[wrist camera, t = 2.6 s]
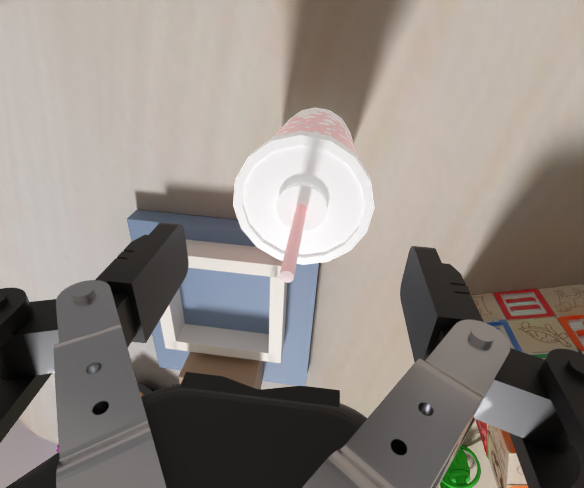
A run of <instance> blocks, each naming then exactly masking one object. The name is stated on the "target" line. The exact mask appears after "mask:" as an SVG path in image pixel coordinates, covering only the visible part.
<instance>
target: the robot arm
mask: <svg viewBox="0 0 584 488" xmlns="http://www.w3.org/2000/svg"><path fill="white" fill-rule="evenodd" d="M188 264H189V262H188V253H187V245H186V238H185V230H184V227H183V225H181V224H172V223H159V224H158V225H157V226H156V227H155V228H154V230H153V231H152V232H151V233H150V234H149V235H143V236H141V237H139V238H137V239H136V240H134V241H132V242H131V243H130V244H129V245H128V246H127V247H126V248H125V249H124V252H121V254H120V255H119V256H118V257H117V259H115V260H114V261H113V262H112V263H111V264H110V265H109V266H108V267H107V268H106V269H105V270H104V271H103V272H102V273H101V274H100V276H99V277H98V278H97V279H96V280H89V281H83V282H79V283H76V284H74V285H72V286H70V287H68V288H66V289H65V290H63V291H62V292H61V293H60V294H59V295H58V297H57V299H54V300H44V301H35V302H29V300H28V298H27V296H26V293H25V292H24V291H23V290H21V289H18V288H3V289H0V442H1V441H2V440H3V438H4V437H5V436H6V434H7V433H8V432H9V430H10V429H11V428H12V426H13V425H14V424H15V422H16V421H17V420H18V418H19V417H20V416H21V414H22V413H23V412H24V410H25V409H26V408H27V406H28V405H29V404H30V402H31V401H32V400H33V398H34V397H35V396H36V394H37V393H38V391H39V390H40V389H41V387H42V386H43V385H44V383H45V382H46V381H47V379H48V378H49V377H50V375H51V374H52V373H55V387H56V404H57V420H58V437H59V452H58V453H57V454H55V455H54V456H52V457H51V458H50V459H48V460H46V461H45V462H43V463H42V464H40V465H39V466H37V467H36V468H34V469H33V470H31V471H30V472H28V473H27V474H25V475H24V476H23V477H21V478H20V479H18V480H17V481H15V482H14V483H12V484H11V485H9V486H8V487H6V488H438V486H439V485H440V483H441V481H442V479H443V477H444V475H445V473H446V471H447V469H448V468H449V466H450V464H451V462H452V460H453V459H454V457H455V455H456V453H457V451H458V450H459V448H460V446H461V444H462V443H463V441H464V439H465V437H466V435H467V434H468V432H469V430H470V428H471V427H472V425H473V423H474V421H475V419H477V420H479V421H482V422H484V423H487V424H489V425H492V426H494V427H496V428H499V429H501V430H504V431H506V432H509V434H510V437H511V440H512V443H513V446H514V448H515V451H516V454H517V457H518V460H519V463H520V465H521V468H522V471H523V474H524V477H525V480H526V482H527V485H528V488H584V354H582V353H579V352H577V351H573V350H569V349H554V350H552V351H550V352H549V353H548V355H547V356H546V358H545V359H542V358H539V357H536V356H532V355H529V354H526V353H523V352H520V351H518V350H515V349H513V348H511V347H510V343H509V341H508V340H507V338H506V337H505V336H504V335H503V334H502V333H501V332H500V331H499V330H498V329H496V328H495V327H493V326H491V325H489V324H487V323H484V321H483V319H482V317H481V315H480V313H479V311H478V309H477V306H476V304H475V302H474V300H473V298H472V296H471V295H470V292H469V290H468V288H467V286H465V285H466V284H465V282H464V280H463V278H462V276H461V274H460V273H459V272H458V271H457V270H456V269H455V268H454V267H452V266H451V265H450V264H444V263H441V260H440V258H439V256H438V253H437V251H436V249H435V248H427V247H416V246H412V247H411V248H410V251H409V254H408V259H407V263H406V267H405V271H404V275H403V279H402V283H401V290H400V297H401V303H402V308H403V312H404V317H405V321H406V326H407V330H408V335H409V339H410V344H411V348H412V352H413V357H414V361H415V363H414V364H413V366H412V367H411V368H410V369H409V370H408V372H407V373H406V374H405V375H404V376H403V377H402V379H401V380H400V381H399V382H398V383H397V384H396V386H395V387H394V388H393V389H392V390H391V392H390V393H389V394H388V395H387V396H386V397H385V399H384V400H383V401H382V402H381V403H380V405H379V406H378V407H377V408H376V409H375V410H374V412H373V413H372V414H371V415H370V416H369V417H368V419H367V418H366V417H365V416H363V415H362V414H360V413H359V412H357V411H356V410H354V409H352V408H350V407H348V406H346V405H343V404H341V403H340V390H332V389H324V388H315V387H307V386H294V387H284V388H274V389H265V390H260V389H256V388H253V387H250V386H248V385H245V384H242V383H240V382H237V381H234V380H232V379H229V378H226V377H224V376H217V375H209V374H201V373H192V372H186V373H185V376H184V378H183V380H182V382H181V384H176V385H172V386H167V387H164V388H161V389H157V390H155V391H153V392H150V393H148V394H146V395H144V396H142V397H141V395H140V391H139V388H138V384H137V380H136V377H135V373H134V370H133V366H132V363H131V359H130V355H129V352H128V346H129V345H130V343H131V342H141V343H146V342H147V340H148V339H149V337H150V335H151V334H152V332H153V330H154V329H155V327H156V325H157V324H158V322H159V320H160V319H161V317H162V316H163V314H164V312H165V311H166V309H167V307H168V306H169V304H170V302H171V301H172V299H173V297H174V296H175V294H176V292H177V291H178V289H179V287H180V286H181V284H182V283H183V281H184V279H185V277H186V275H187V272H188Z"/></svg>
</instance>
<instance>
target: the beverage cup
mask: <svg viewBox="0 0 584 488" xmlns="http://www.w3.org/2000/svg"><path fill="white" fill-rule="evenodd" d="M233 207H234V210H235V213H236V216H237V219H238V222H239V225H240V227H241V229H242V230H243V232H244V233H245V234H246V235H247V236H248V237H249V239H250V240H251V241H252V242H253V243H254V244H255V246H256V247H257V248H259V249H261V250H262V251H264V252H266V253H268V254H269V255H271V256H273V257H274V258H276V259H278V260H281V261H283V262H282V266H281V270H280V274H279V278H280V280H281V281H283V282H286V283H289V282H292V281H293V279H294V275H295V269H296V264H301V265H307V264H315V263H323V262H329V261H331V260H333V259H335V258H337V257H339V256H341V255H343V254H345V253H347V252H349V251H351V249H352V248H353V247H354V246H355V245H356V244H357V243H358V242H359V240H360V239H361V238H362V237H363V236H364V235H365V234H366V232H367V230H368V227H369V224H370V221H371V217H372V214H373V211H374V201H373V193H372V186H371V179H370V178H369V174H368V172H367V171H366V169H365V168H364V166H363V164H362V163H361V161H360V160H359V158H358V157H357V153H356V150H355V147H354V143H353V140H352V137H351V133H350V130H349V129H348V127H347V126H346V124H345V122H344V121H343V119H342V118H341V117H339V116H338V115H336V114H335V113H333V112H332V111H330V110H326V109H321V108H316V107H315V108H310V109H306V110H301V111H300V112H298V113H297V114H296V115H294V116H293V117H291V118H290V119H289V120H288V121H287V122H286V123H285V124H284V126H283V127H282V128H281V129H280V130H279V131H278V132H277V134H276V135H275V136H274V137H273V138H271V139H270V140H268V141H267V142H266V143H264V144H263V145H261V146H260V147H259V148H257V149H256V150H254V151H253V152H252V154H250V155H249V156H248V158H247V160H246V162H245V163H244V165H243V167H242V169H241V170H240V172H239V174H238V176H237V177H236V179H235V185H234V197H233Z"/></svg>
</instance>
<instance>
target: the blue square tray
mask: <svg viewBox="0 0 584 488" xmlns="http://www.w3.org/2000/svg"><path fill="white" fill-rule="evenodd" d="M127 222H128V227H129V231H130V236H131V240H132V241H134V240H136V239H137V238H139V237H141V236H143V235H149V234H150V233H151V232H152V231H153V230H154V228H155V227H156V226H157V225H158V224H159V223H172V224H181V225H183V227H184V230H185V238H186V245H187V253H188V262H189V264H188V272H187V275H186V277H185V279H184V281H183V283H182V284H181V286H180V287H179V289H178V291H177V292H176V294H175V296H174V297H173V299H172V301H171V302H170V304H169V306H168V307H167V309H166V311H165V312H164V314H163V316H162V317H161V319H160V320H159V322H158V324H157V325H156V327H155V329H154V330H153V332H152V336H153V340H154V345H155V349H156V354H157V358H158V363H159V367H162V368H169V369H177V370H181V372H180V375H179V383H180V384H181V382H182V380H183V378H184V376H185V373H186V372H192V373H201V374H209V375H217V376H224V377H226V378H229V379H232V380H234V381H237V382H240V383H242V384H245V385H248V386H250V387H253V388H256V389H261V384H262V381H266V382H274V383H281V384H288V385H296V386H306V379H307V370H308V360H309V351H310V342H311V332H312V323H313V313H314V304H315V295H316V285H317V276H318V266H319V263H315V264H307V265H301V264H296V269H295V275H294V279H293V281H292V282H289V283H286V282H283V281H281V280H280V278H279V274H280V270H281V266H282V262H283V261H281V260H278V259H276V258H274V257H273V256H271V255H269V254H268V253H266V252H264V251H262V250H261V249H259V248H257V247H256V246H255V244H254V243H253V242H252V241H251V240H250V239H249V237H248V236H247V235H246V234H245V233H244V232H243V230H242V229H241V227H240V225H239V222H238V220H234V219H224V218H214V217H204V216H194V215H184V214H174V213H164V212H154V211H144V210H136V211H135V212H134V213H133V214H132V215H131V216H130V217H129V218H127Z"/></svg>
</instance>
